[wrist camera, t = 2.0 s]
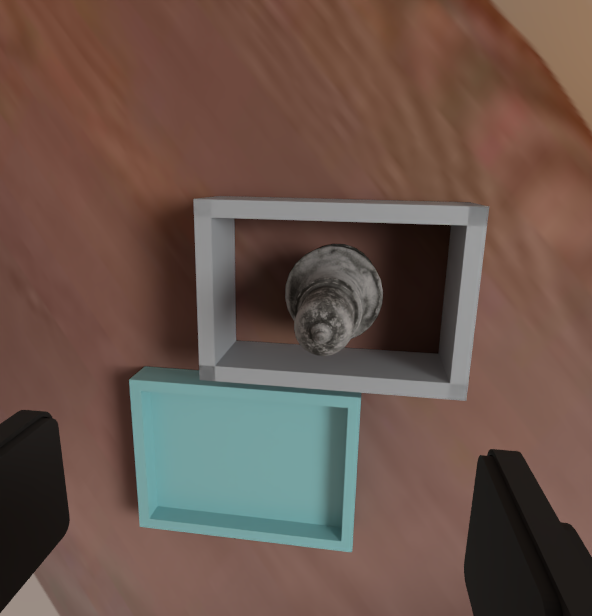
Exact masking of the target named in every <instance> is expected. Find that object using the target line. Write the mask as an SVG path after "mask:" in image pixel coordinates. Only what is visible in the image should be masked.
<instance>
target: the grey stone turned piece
mask: <svg viewBox="0 0 592 616" xmlns="http://www.w3.org/2000/svg"><path fill="white" fill-rule="evenodd" d="M382 298H383V290H382V284H381V279H380V277H379V275H378V273H377V271H376V269H375V267H374V266H373V265H372V263H371V261H370V260H369V259H368V258H367V257H366V256H365V255H364V253H362V252H361V251H359V250H357V249H356V248H354V247H351V246H348V245H345V244H331V245H326V246H323V247H321V248H318V249H316V250H314V251H312V252H310V253H308V254H306V255H305V256H303V257H302V258H301V259H300V260H299V261H298V262H297V263H296V264H295V266H294V267H293V269H292V270H291V272H290V273H289V276H288V280H287V283H286V289H285V299H286V304H287V308H288V311H289V313H290V315H291V316H292V318H293V320H294V330H295V335H296V338H297V340H298V342H299V344H300V345H301V346H302V347H303V348H304V349H305V350H306V351H308V352H309V353H311V354H314V355H317V356H328V355H333V354H335V353H337V352H339V351H340V350H341V349H343V348H344V347H345V346H346V345H347V343H348V342H349V341H350V339H352V338H354V337H356V336H358V335H361V334H362V333H363V332H364V331H366V330H367V329H368V328H369V327H370V326H371V325H372V324H373V322H374V321H375V319H376V318H377V317H378V314H379V311H380V309H381V306H382Z"/></svg>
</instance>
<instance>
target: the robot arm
mask: <svg viewBox="0 0 592 616" xmlns="http://www.w3.org/2000/svg"><path fill="white" fill-rule="evenodd" d="M69 521H70V519H69V509H68V501H67V493H66V485H65V477H64V468H63V460H62V452H61V444H60V436H59V428H58V423H57V421H56V420H55V419H52V416H51V415H50V413H48V412H43V411H31V410H21V411H19V412H17V413H16V414H14V415H13V416H11V417H10V418H8V419H7V420H5V421H4V422H2V423H1V424H0V613H1V611H2V610H3V609H4V608H5V607H6V605H7V604H8V603H9V602H10V601H11V599H12V598H13V597H14V596H15V594H16V593H17V592H18V591H19V590H20V589H21V587H22V586H23V585H24V584H25V582H26V581H27V580H28V579H29V578H30V577H31V575H32V574H33V573H34V572H35V571H36V569H37V568H38V567H39V566H40V565H41V563H42V562H43V561H44V560H45V558H46V557H47V556H48V555H49V554H50V552H51V551H52V550H53V549H54V548H55V546H56V545H57V544H58V543H59V542H60V540H61V539H62V538H63V537H64V535H65V534H66V532H67V530H68V526H69ZM464 576H465V583H466V587H467V591H468V595H469V599H470V603H471V607H472V611H473V615H474V616H592V557H591V555H590V554H589V552H588V550H587V549H586V547H585V545H584V544H583V542H582V540H581V539H580V537H579V535H578V534H577V532H576V530H575V529H574V528H573V527H572V525H570V524H568V523H561V522H560V521H559V519H558V517H557V516H556V514H555V512H554V510H553V509H552V507H551V505H550V503H549V502H548V500H547V498H546V496H545V494H544V493H543V491H542V489H541V487H540V486H539V484H538V482H537V480H536V479H535V477H534V475H533V473H532V472H531V470H530V468H529V466H528V464H527V463H526V461H525V459H524V457H523V456H522V454H521V453H520V452H518V451H507V450H495V449H490V450H489V452H488V455H487V456H482V455H480V456H479V458H478V463H477V470H476V478H475V485H474V493H473V500H472V508H471V516H470V523H469V531H468V538H467V546H466V554H465V561H464Z"/></svg>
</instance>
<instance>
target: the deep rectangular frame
mask: <svg viewBox="0 0 592 616" xmlns="http://www.w3.org/2000/svg"><path fill="white" fill-rule="evenodd" d="M488 212H489V207H488V206H484V205H479V204H475V203H470V202H433V201H394V200H354V199H314V198H275V197H235V196H216V197H207V198H198V199H194V229H195V258H196V288H197V317H198V347H199V376H200V380H206V381H218V382H231V383H244V384H257V385H270V386H283V387H296V388H309V389H322V390H335V391H348V392H360V393H373V394H386V395H399V396H412V397H425V398H438V399H451V400H464V401H466V398H467V390H468V381H469V373H470V364H471V356H472V347H473V339H474V330H475V322H476V313H477V305H478V296H479V288H480V279H481V271H482V262H483V254H484V246H485V237H486V229H487V220H488ZM234 218H243V219H275V220H307V221H339V222H371V223H403V224H435V225H451V231H450V241H449V251H448V262H447V272H446V282H445V292H444V302H443V312H442V322H441V332H440V342H439V352H438V354H434V353H419V352H404V351H389V350H373V349H358V348H343V349H341V350H340V351H339V352H337V353H335V354H333V355H328V356H317V355H314V354H311V353H309V352H308V351H306V350H305V349H304V348H303V347H302V346H301V345H297V344H282V343H267V342H251V341H236V300H235V224H234Z"/></svg>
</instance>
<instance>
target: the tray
mask: <svg viewBox="0 0 592 616" xmlns="http://www.w3.org/2000/svg"><path fill="white" fill-rule="evenodd" d="M129 385H130V399H131V412H132V426H133V440H134V453H135V467H136V480H137V494H138V507H139V521H140V527H147V528H155V529H164V530H172V531H180V532H188V533H197V534H205V535H213V536H221V537H230V538H238V539H246V540H255V541H263V542H271V543H279V544H288V545H296V546H304V547H312V548H321V549H329V550H337V551H345V552H352V545H353V527H354V510H355V493H356V476H357V458H358V441H359V424H360V406H361V393H360V392H348V391H335V390H322V389H309V388H296V387H283V386H270V385H257V384H244V383H231V382H218V381H206V380H200V376H199V370H186V369H173V368H160V367H146V366H145V367H144V368H142V369H141V370H140V371H139V372H138V373H136V374H135V375H134V376H133V377H132V378H130V379H129Z"/></svg>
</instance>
